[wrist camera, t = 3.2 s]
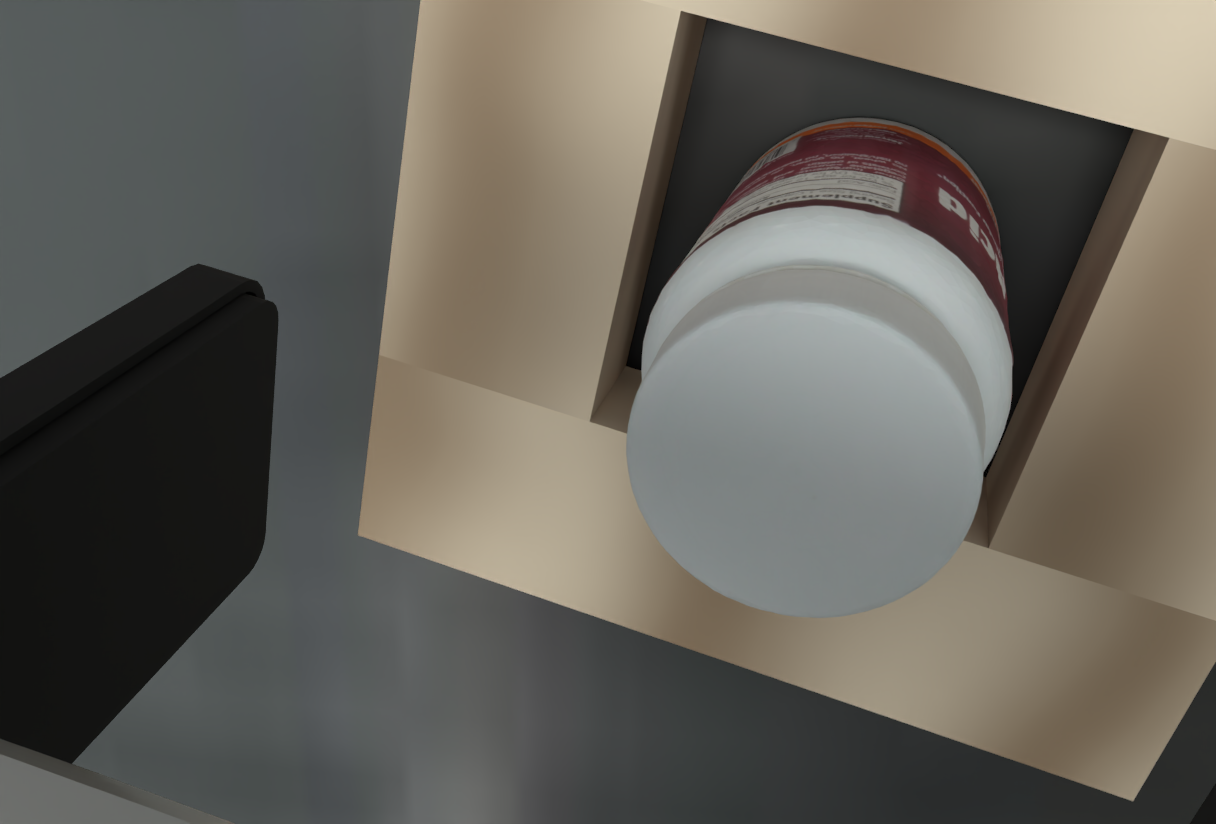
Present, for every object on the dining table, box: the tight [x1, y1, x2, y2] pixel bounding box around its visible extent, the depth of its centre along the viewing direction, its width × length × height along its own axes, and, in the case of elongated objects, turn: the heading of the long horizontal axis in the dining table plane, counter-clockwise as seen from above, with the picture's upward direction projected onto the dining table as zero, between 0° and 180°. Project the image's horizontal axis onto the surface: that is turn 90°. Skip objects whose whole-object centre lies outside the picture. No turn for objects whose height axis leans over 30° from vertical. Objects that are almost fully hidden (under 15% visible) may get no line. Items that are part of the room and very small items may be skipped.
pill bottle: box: [626, 118, 1014, 618], centre depth 17 cm, size 5×5×8 cm
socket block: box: [358, 0, 1216, 801], centre depth 19 cm, size 15×15×2 cm
